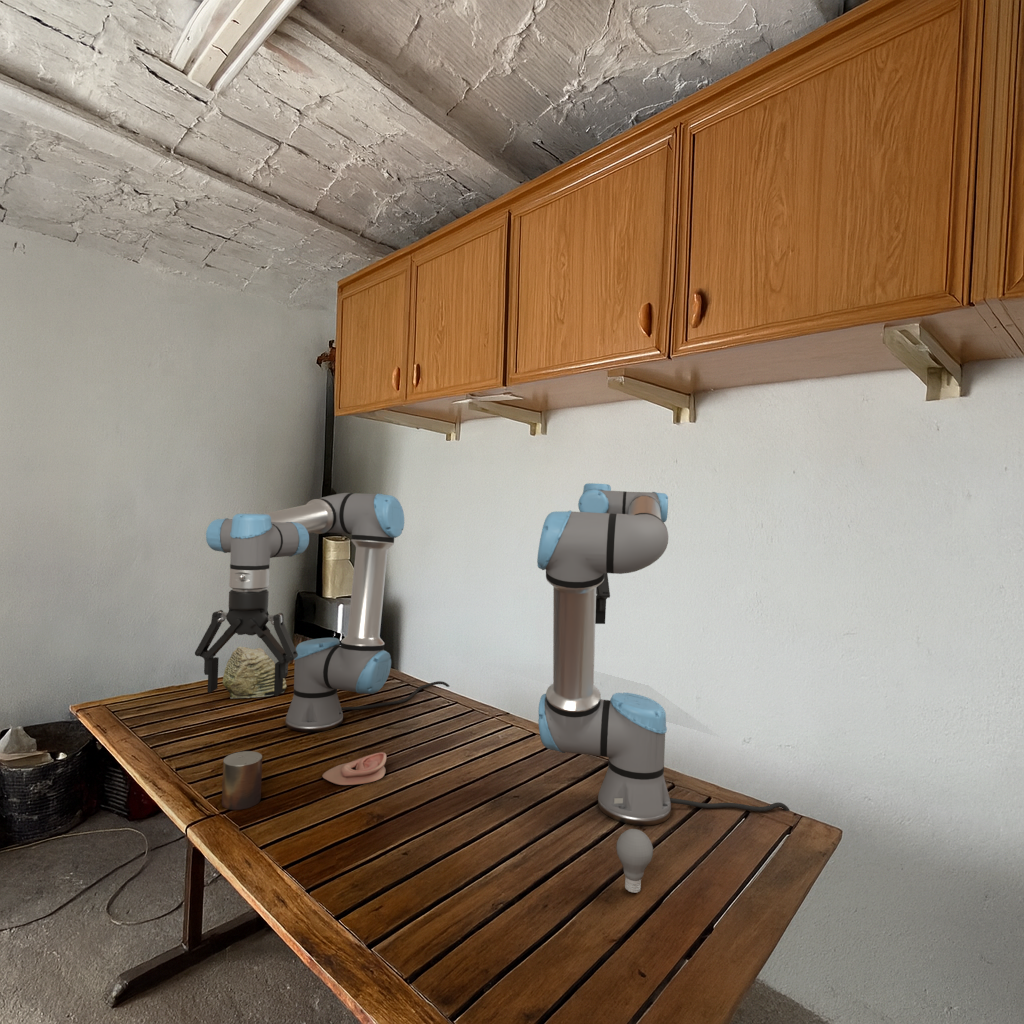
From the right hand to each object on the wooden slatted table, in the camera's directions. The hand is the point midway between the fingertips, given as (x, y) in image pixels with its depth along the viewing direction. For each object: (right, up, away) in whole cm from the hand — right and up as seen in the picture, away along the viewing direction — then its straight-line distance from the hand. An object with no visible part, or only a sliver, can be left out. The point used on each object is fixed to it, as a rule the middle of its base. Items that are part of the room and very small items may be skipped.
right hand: (591, 618), depth 172 cm
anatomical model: (-57, -31, -27) cm, 71 cm away
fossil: (-102, -28, +26) cm, 109 cm away
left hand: (-76, -8, -42) cm, 87 cm away
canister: (-77, -31, -41) cm, 93 cm away
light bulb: (-1, -34, -66) cm, 75 cm away
